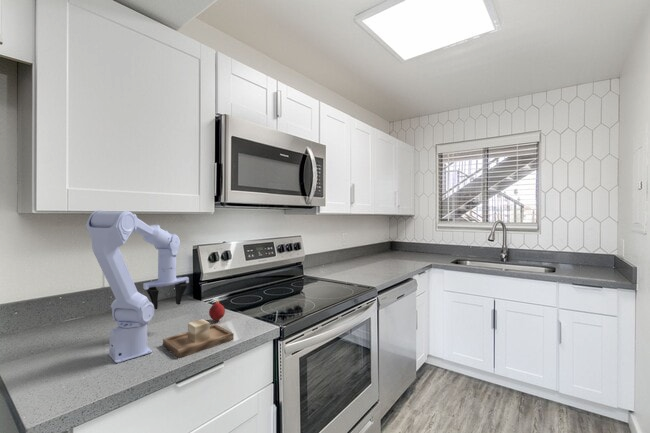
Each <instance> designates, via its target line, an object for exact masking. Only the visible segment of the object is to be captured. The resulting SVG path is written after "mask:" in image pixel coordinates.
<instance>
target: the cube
mask: <svg viewBox="0 0 650 433" xmlns="http://www.w3.org/2000/svg"><path fill="white" fill-rule="evenodd" d="M210 326H211V322H209V321H207V320H205V319H202V318H201V319H198V320H194V321H191V322H187V332H188V339H190V340H192V341H193V342H198V341H202V340H205V339H208V338H210Z"/></svg>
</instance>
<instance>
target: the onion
mask: <svg viewBox="0 0 650 433" xmlns="http://www.w3.org/2000/svg"><path fill="white" fill-rule="evenodd" d="M225 313H226V309H225V307H224V305H223V304H221V303H220V301H219V300H216V302H215V303H214V304H212V305H211V307H210V308H209V310H208V315H209V317H210V319H211V320H213V321H215V322H218V321H220V320H221V319H222V318H223V317H224V315H225Z"/></svg>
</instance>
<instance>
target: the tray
mask: <svg viewBox="0 0 650 433" xmlns="http://www.w3.org/2000/svg"><path fill="white" fill-rule="evenodd" d="M231 340H232V341H234V332H231V331H229V330H228V329H225V328H223V327H222V326H220V325H218V324H212V325H211V324H210V338H208V339H205V340H202V341H198V342H193V341H192V340H190V339H188V331H187V332H186V331H185V332H183V333H179V334H175V335H172V336H169V337H165V338H163V339H162V346H163V347H164V348H165V349H166V350H168V351H169V352H170V353H172V354H173V355H174V356H176V357H177V358H178V359H180V358H184V357H187V356H191V355H193V354H195V353H198V352H199V353H200V352H202V351H205V350H208V349H210V348H213V347H216V346H219V345H223V344H225V343H226V344H227V343H228V342H232V341H231Z"/></svg>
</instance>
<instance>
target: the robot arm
mask: <svg viewBox="0 0 650 433" xmlns="http://www.w3.org/2000/svg"><path fill="white" fill-rule="evenodd" d="M85 227H86V230H87V231H88V234H89V236H90V239H91V247H92V248H91V249H92V251H93V254H94V256H95V259H96V261H97V262H98V265H99V267H100V268H101V271H102V273H103V275H104V277H105V279H106V282H107V283H108V286H109V288H110V290H111V292H112V294H113V295H114V298H115V299H114V300H113V301H112V303H111V304H110V308H111V311H112V312H111V313H112V314H111V315H112V318H113V321H114V322H116V327H114V328H111V329H110V330H109V334H108V336H109V337H108V338H109V340H108V341H109V342H108V344H109V345H108V346H109V348H108V349H109V351H108V356H109V357H110V358H111V359H112V360H113V361H114V363H116V364H119V363H122V362H125V361H129V360H132V359H134V358H135V359H136V358H139V357H142V356H144V355H145V356H146V355H149V354H151V353H153V350H152V349H151V348H150V347H149V346H148V323H150V322H151V320H152V319H153V317H154V314H155V310H158V305H159V304H158V300H159V299H158V297H159V293H160V292H159V290H158V288H163V287H169V286H174V288H175V289H174V290H175V304H177V306H178V305H181V302H182V298H183V296H184V293H185V291H186V289H187V288H188V284H189V283H190V278H189V277H188V276H184V277H182V276H181V277H177V255H178V253H179V248H180V245H181V241H180V237H179V236H178V235H177V234H176V233H170V232H168V230H167V229H162V228H161V226H160V225H159V224H151V225H149V224H147V223H146V222H144V221H143V220H141V219H139V218H138V216H137V214H135V213H133V212H131V211H128V210H123V211H122V210H121V211H117V210H114V211H110V210H94V211H93V212H92V213H90V215H89V217H88V219H87V222H86V224H85ZM132 233H136V234H137V235H141V236H142V239H143V240H144V241H145V242H147V243H149V244H151V245H153V246H154V248H155V249H156V250H157V254H158V255H157V265H158V266H157V280H152V281H149V282H148V281H147V282H143V284H142V286H143V287H142V288H143V290H145V291H146V293H147V295H148V297H149V298H150V300H149V298H148V297H147V296H146V295H144V294H143V293H140V292H139V291H138V289H137V287H136V285H135V284H136V283H135V282H134V279H133V277H132V275H131V273H130V270H129V268H128V266H127V264H126V261H125V258H124V256H123V253H122V251H121V250H120V247H122V246H123V245H125V243H126V242H127V241H128V239H129V237H130V235H131V234H132Z"/></svg>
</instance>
